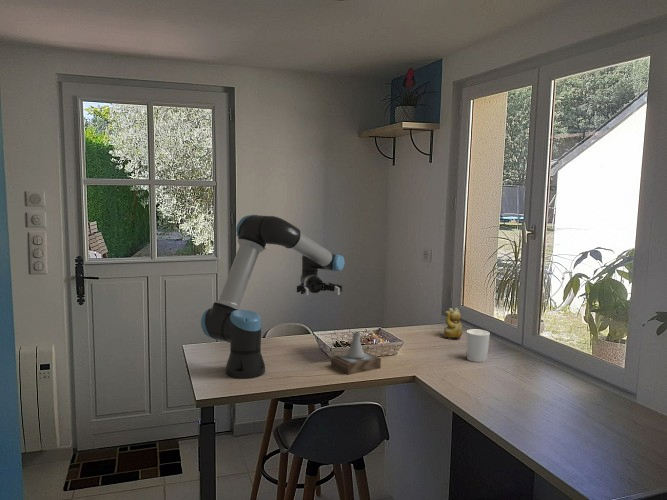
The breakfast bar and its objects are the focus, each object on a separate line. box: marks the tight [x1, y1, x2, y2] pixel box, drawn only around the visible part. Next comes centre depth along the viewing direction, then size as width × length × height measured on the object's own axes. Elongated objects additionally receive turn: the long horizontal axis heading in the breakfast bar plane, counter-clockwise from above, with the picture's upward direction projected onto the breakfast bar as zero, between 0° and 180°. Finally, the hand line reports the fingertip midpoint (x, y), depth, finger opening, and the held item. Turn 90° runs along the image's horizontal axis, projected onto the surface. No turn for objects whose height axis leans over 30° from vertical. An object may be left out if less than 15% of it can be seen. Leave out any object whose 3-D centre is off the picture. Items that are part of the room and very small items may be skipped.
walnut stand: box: [330, 350, 382, 375], centre depth 219 cm, size 16×12×4 cm
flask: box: [346, 331, 365, 359], centre depth 219 cm, size 7×7×10 cm
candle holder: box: [466, 328, 491, 363], centre depth 233 cm, size 10×10×12 cm
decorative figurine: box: [443, 307, 463, 340], centre depth 267 cm, size 10×8×15 cm
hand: (323, 292), depth 230 cm, fingers open, 13 cm apart
